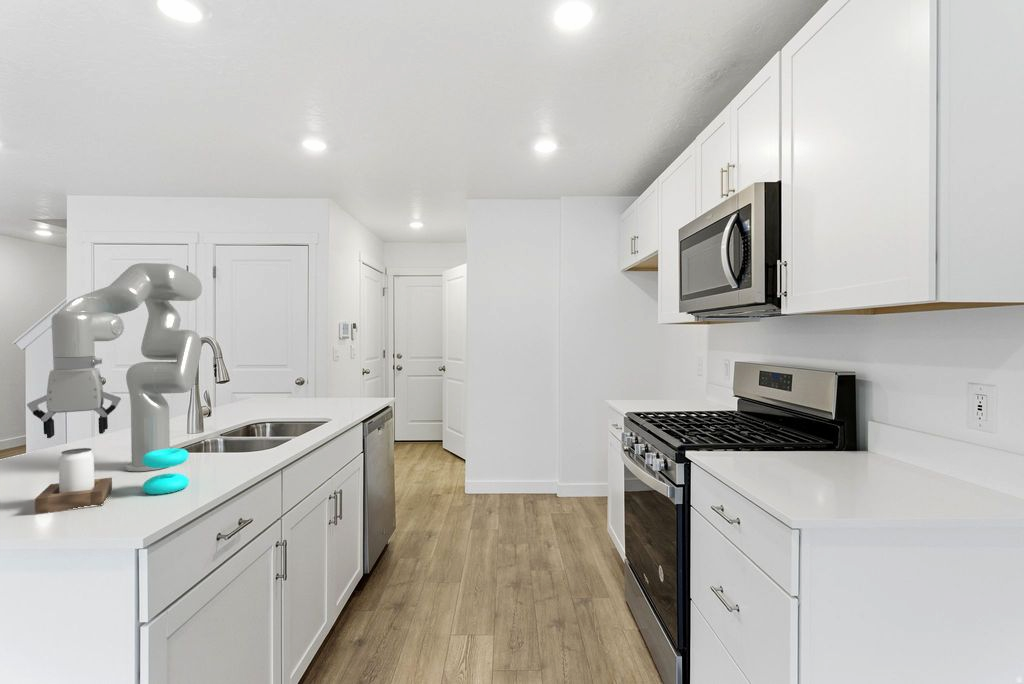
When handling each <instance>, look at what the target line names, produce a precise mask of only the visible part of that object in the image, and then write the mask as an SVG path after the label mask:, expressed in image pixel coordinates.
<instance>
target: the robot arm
mask: <svg viewBox="0 0 1024 684" xmlns="http://www.w3.org/2000/svg"><path fill="white" fill-rule="evenodd" d="M202 291H203V285H202V283H201V280H200V278H198V276H197V275H196V274H194V273H192V272H190V271H188V270H187V269H184V268H182V267H181V266H178V265H175V264H172V263H159V262H158V263H155V262H154V263H153V262H152V263H151V262H149V263H148V262H147V263H146V262H141V263H135V264H132V265H130V266H128V268H127V269H125V270H124V271H123V272H122V273H121V274H120V275H119V276H118V277H117V278H116V279H115V280H113V282H112V283H110V284H109V285H108V286H105V287H102V288H99V289H97V290H93V291H91V292H88V293H85V294H83V295H80V296H78V297H76V298H73V299H72V300H70V301H69V302H67V303H66V304H65V305H64V306H63V307H62V308H60V309H59V310H58V311H57V313H54V314H53V315H52V316H51V325H50V326H51V340H52V365H53V369H52V370H50V371H49V374H48V379H47V387H46V394H45V395H43V396H40V397H39V398H37V399H35V400H32V401H30V402H28V403H27V404H26V406H27V408H28V410H30V412H31V413H32V415H33V416H35V417H37V418H38V419H39V420H40V421H41V422H42V423H43V434H44V435H46V438H47V439H51V438H52V437H54V436H55V420H54V419H53V416H54V415H56V413H58V414H60V413H74V412H76V413H77V412H88V411H94V412H96V414H98V415H99V417H98V419H97V420H98V433H99V434H101V435H103V434H104V433H105V432H106V430H108V427H109V423H108V422H109V420H108V416H109V415H110V414H111V413H112V412H113V411H114V410H115V409H116V408H117V407H118V405H119V403H120V401H121V400H122V399H121V397H120V396H117V395H115V394H111V393H109V392H105V391H104V388H103V381H102V375H101V371H100V368H95V367H96V366H97V365H101V364H102V363H103V359H102V358H97V357H96V356H95V350H94V349H95V348H94V347H95V344H94V342H111V341H114V340H116V339H118V338H119V337H120V336H121V335H122V334H123V332H124V329H125V324H124V321H123V320H122V318H121V317H120V316H119V315H121V314H125V313H128V312H132V311H135V310H136V309H138V308H139V307H140V306H141V305H142V304H143V303H144V304H145V306H146V309H147V312H148V318H147V323H146V326H145V330H144V333H143V337H142V341H141V346H140V352H141V354H142V355H141V356H143V358H146V359H148V360H153V361H142V362H137V363H135V364H133V365H131V366H130V367H129V368H128V369H127V372H126V374H125V380H126V385H127V389H128V393H129V399H130V429H131V430H130V434H131V436H130V437H131V438H130V439H131V441H130V442H131V443H130V444H131V445H130V446H131V448H130V449H131V451H130V454H131V462H127V463H126V464H125V465H124V470H125V471H129V472H146V471H148V472H149V471H150V472H151V471H157V470H162V469H163V468H151V467H148V466H146V465H144V464H143V462H142V458H143V456H144V455H145V454H147V453H149V452H152V451H156V450H161V449H170V448H171V447H170V446H171V444H170V443H171V441H170V433H171V432H170V405H169V403H168V401H167V399H165V397H164V396H163V394H184V393H188V392H189V391H191V389H192V388H194V385H195V382H196V378H197V374H198V370H199V369H198V368H199V364H200V359H201V354H202V346H203V345H202V339H201V336H200V335H199V333H197V332H196V331H194V330H191V329H180V324H181V316H180V314H179V312H178V311H177V309H176V308H175V307H174V305H172V303H170V302H172V301H175V302H176V301H178V302H183V301H184V302H190V301H191V302H192V301H196V300H197V299H199V298H200V296H201V294H202ZM155 360H156V361H155ZM105 400H108V401H110V402H111V403H110V405H109V406H108V407H107V408H105V406H103V405H104V403H105V402H104V401H105ZM45 402H46V403H45ZM42 403H45V405H46V409H47V412H44V411H43V410H42V409H40V408H39V405H41V404H42Z"/></svg>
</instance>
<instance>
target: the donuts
mask: <svg viewBox="0 0 1024 684" xmlns="http://www.w3.org/2000/svg"><path fill="white" fill-rule="evenodd" d="M188 459H189V451H187V450H186V449H185V448H178V447H177V448H174V447H173V448H172V447H170V449H161V450H156V451H152V452H149V453H147V454H145V455H144V456H143V458H142V462H143V464H144V465H146V466H148V467H151V468H162V469H165V468H166V469H167V468H172V467H175V466H178V465H181V464H184V463H185V462H186V461H187V460H188ZM189 483H190V481H189V477H188V476H187V475H184V474H183V473H182V474H181V473H176V472H174V473H171V472H170V473H162V474H158V475H155V476H152V477H150V478H148V479H147V480H145V481H144V483H143V485H142V491H143V492H144V493H146V494H147V495H154V494H158V495H165V494H164V493H168V494H171V493H170V492H173V493H175V492H174V491H177V492H179V491H178V490H180V491H182V490H184V489H186V488H187V487H188V486H189ZM185 487H186V488H185ZM183 488H184V489H183ZM181 489H182V490H181Z"/></svg>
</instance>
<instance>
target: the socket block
mask: <svg viewBox="0 0 1024 684" xmlns="http://www.w3.org/2000/svg"><path fill="white" fill-rule="evenodd" d="M111 491H112V492H113V477H105V478H103V477H102V478H96V479H95V478H94V488H93V490H84V491H75V492H67V493H59V482H58V483H57V482H56V483H51V484H49V485H48V486H47V487H46V488H45V489H44V490H43V491H42V492H40V494H38V495H37V496H36V497H35V498H34V515H41V514H48V512H50V513H56V512H55V511H58V512H63V511H62V510H66V511H69V510H68V509H73V508H78V507H84V506H91V505H101V504H103V503H104V501H105V500H106V498H107V497H108V495H109V494H110V495H111V493H112V492H111ZM110 495H109V496H110ZM108 498H109V497H108ZM108 498H107V499H108ZM106 501H107V500H106ZM106 501H105V502H106ZM104 504H105V503H104ZM104 504H103V505H104ZM73 510H74V509H73Z"/></svg>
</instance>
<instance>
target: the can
mask: <svg viewBox="0 0 1024 684" xmlns="http://www.w3.org/2000/svg"><path fill="white" fill-rule="evenodd" d="M94 479H95V455H94V453H93V452H92V448H89V447H83V448H81V447H78V448H72V449H67V450H63V451H61V455H60V457H59V458H58V483H59V493H67V492H75V491H84V490H93V488H94Z"/></svg>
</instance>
